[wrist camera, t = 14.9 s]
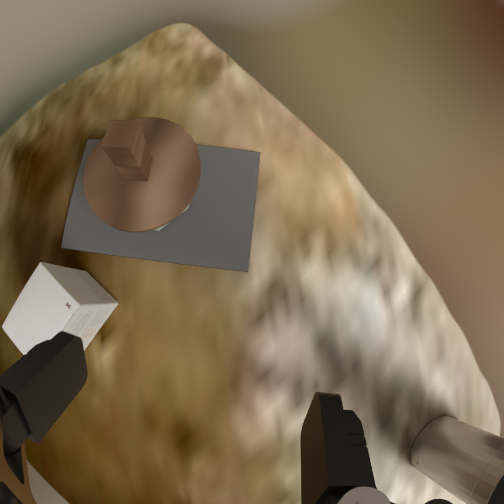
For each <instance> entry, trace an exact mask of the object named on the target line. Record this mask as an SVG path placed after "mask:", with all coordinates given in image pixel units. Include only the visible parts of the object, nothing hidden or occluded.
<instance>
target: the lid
mask: <svg viewBox="0 0 504 504" xmlns="http://www.w3.org/2000/svg"><path fill="white" fill-rule="evenodd" d="M200 175H201V163H200V156H199V152H198V149H197V146H196V144H195V142H194V140H193V139H192V137H191V136H190V135H189V134H188V133H187V132H186V131H185V130H184V129H183V128H182V127H180V126H179V125H177V124H175V123H174V122H171V121H169V120H166V119H161V118H154V117H145V118H138V119H134V120H130V121H128V120H110V121H109V124H108V127H107V130H106V133H105V136H104V137H103V138H102V139H101V140H100V141H99V142H98V143H97V144H96V146H95V147H94V149H93V150H92V152H91V153H90V155H89V157H88V160H87V163H86V165H85V169H84V175H83V189H84V194H85V197H86V200H87V203H88V205H89V207H90V208H91V210H92V211H93V212H94V214H95V215H96V216H97V217H98V218H100V219H101V220H102V221H104V222H105V223H106V224H108V225H109V226H111V227H113V228H115V229H118V230H121V231H126V232H146V231H150V230H154V229H157V228H160V227H162V226H164V225H166V224H168V223H169V222H171V221H172V220H174V219H175V218H176V217H177V216H179V215H180V214H181V213H182V212H183V211H184V210H185V209H186V208H187V206H188V205H189V203H190V202H191V201H192V199H193V197H194V195H195V193H196V191H197V188H198V185H199V181H200Z"/></svg>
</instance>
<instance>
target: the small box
mask: <svg viewBox="0 0 504 504" xmlns="http://www.w3.org/2000/svg"><path fill="white" fill-rule="evenodd" d="M118 304H119V303H118V301H116V300H115V299H114V298H113V297H112V296H111V295H110V294H109V293H108V292H107V291H106V290H105V289H104V288H103V287H102V286H101V285H100V284H99V283H98V282H97V281H96V280H95V279H94V278H93V277H92V276H91V275H90V274H89V273H88V272H87V271H83V270H78V269H73V268H68V267H63V266H58V265H54V264H49V263H44V262H40V263H39V264H38V266H37V267H36V269H35V271H34V272H33V274H32V275H31V277H30V278H29V280H28V282H27V283H26V285H25V287H24V288H23V290H22V292H21V293H20V295H19V297H18V298H17V300H16V302H15V304H14V305H13V307H12V309H11V311H10V312H9V314H8V316H7V318H6V320H5V322H4V323H3V325H2V328H3V329H4V331H5V332H6V333H7V335H8V336H9V337H10V339H11V340H12V341H13V342H14V344H15V345H16V346H17V348H18V349H19V350H20V351H21V352H22V354H23V355H25V354H27V352H28V351H29V350H30V349H32V348H33V347H34V346H35V345H36V344H39V343H41V342H43V341H46V340H50V339H52V338H53V337H54V336H55V335H56V334H57V333H59V332H60V331H65V332H67V333H70V334H73V335H75V336H78V337H80V338H81V339H82V342H83V348H84V350H85V349H86V348H87V346H88V345H89V343H90V342H91V340H92V339H93V338H94V336H95V335H96V333H97V332H98V331H99V329H100V328H101V327H102V325H103V324H104V322H105V321H106V320H107V318H108V317H109V316H110V314H111V313H112V312H113V310H114V309H115V308H116V306H117V305H118Z"/></svg>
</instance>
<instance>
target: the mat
mask: <svg viewBox="0 0 504 504" xmlns="http://www.w3.org/2000/svg"><path fill="white" fill-rule="evenodd" d="M100 140H101V139H88V141H87V144H86V147H85V150H84V153H83V157H82V160H81V163H80V167H79V170H78V174H77V177H76V181H75V185H74V189H73V193H72V197H71V201H70V205H69V210H68V214H67V219H66V224H65V229H64V234H63V240H62V245H61V248H65V249H72V250H79V251H86V252H93V253H100V254H108V255H115V256H123V257H130V258H138V259H146V260H153V261H161V262H169V263H177V264H185V265H194V266H202V267H210V268H219V269H227V270H236V271H245V272H248V266H249V257H250V247H251V238H252V228H253V218H254V209H255V199H256V190H257V180H258V171H259V161H260V152H253V151H246V150H238V149H230V148H221V147H212V146H203V145H196V146H197V149H198V152H199V156H200V163H201V175H200V181H199V185H198V188H197V191H196V193H195V195H194V197H193V199H192V201H191V202H190V204H189V208H188V209H187V210H185V211H184V212H183V213H181V214H180V215H179V216H178V217H176V218H175V219H174V220H172V221H171V222H170V223H168V224H167V225H166V226H164V227H163V228H162V229H161V230H159V231H155V230H150V231H146V232H126V231H121V230H118V229H115V228H113V227H111V226H109V225H108V224H106V223H105V222H104V221H102V220H101V219H100V218H98V217H97V216H96V215H95V214H94V212H93V211H92V210H91V208H90V207H89V205H88V203H87V200H86V197H85V194H84V189H83V175H84V169H85V165H86V163H87V160H88V157H89V155H90V153H91V152H92V150H93V149H94V147H95V146H96V144H97V143H98V142H99V141H100Z"/></svg>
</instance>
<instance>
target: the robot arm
mask: <svg viewBox="0 0 504 504" xmlns="http://www.w3.org/2000/svg"><path fill="white" fill-rule="evenodd" d="M86 380H87V366H86V360H85V354H84V348H83V342H82V339H81V338H80V337H78V336H75V335H73V334H70V333H67V332H65V331H60V332H59V333H57V334H56V335H55V336H54V337H53V338H52V339H50V340H46V341H43V342H41V343H39V344H36V345H35V346H34V347H33V348H32V349H30V350H29V351H28V352H27V354H25V355H23V356H22V357H21V358H20V360H18V361H17V362H16V363H14V364H13V365H12V366H11V367H10V368H9V369H8V370H7V371H5V372H4V373H3V374H2V375H1V376H0V504H36V502H35V500H34V498H33V496H32V493H31V489H30V484H29V477H28V468H27V458H26V448H25V444H24V441H25V440H26V439H27V438H29V439H31V440H32V441H34V442H36V443H37V444H39V443H40V441H41V440H42V439H43V437H44V436H45V435H46V433H47V432H48V431H49V430H50V428H51V427H52V426H53V424H54V423H55V422H56V420H57V419H58V418H59V417H60V415H61V414H62V413H63V411H64V410H65V409H66V408H67V406H68V405H69V404H70V403H71V401H72V400H73V399H74V398H75V396H76V395H77V394H78V393H79V391H80V390H81V389H82V388H83V386H84V385H85V383H86ZM366 445H367V444H366V439H365V437H364V431H363V427H362V423H361V421H360V419H359V418H358V417H357V416H356V414H355V413H354V412H353V410H343V405H342V400H341V396H340V395H339V394H333V393H323V392H316V393H315V395H314V397H313V400H312V402H311V405H310V408H309V410H308V413H307V415H306V418H305V420H304V423H303V426H302V431H301V504H395V503H392V502H390V501H389V499H388V498H387V496H386V495H385V494H384V493H382V492H381V491H379V490H377V488H376V485H375V481H374V476H373V471H372V466H371V462H370V457H369V453H368V448H367V447H366ZM410 460H411V463H412V465H413V466H414V467H415V468H416V469H418V470H419V471H420V472H422V473H423V474H424V475H426V476H427V477H428V478H430V479H431V480H433V481H434V482H435V483H437V484H438V485H440V486H441V487H443V488H444V489H446V490H447V491H448V492H450V493H451V494H453V495H454V496H456V497H457V498H459V499H460V500H462V501H463V502H465V503H466V504H504V438H502V437H499V436H497V435H494V434H492V433H489V432H487V431H484V430H481V429H479V428H476V427H474V426H471V425H469V424H466V423H464V422H461V421H459V420H456V419H454V418H451V417H449V416H442V417H439V418H436V419H434V420H433V421H432V422H430V423H429V424H428V425H427V426H426V427H425V428H424V429H423V430H422V431H421V432H420V434H419V435H418V437H417V438H416V440H415V442H414V444H413V447H412V449H411V454H410ZM425 504H452V503H451V502H449V501H447V500H444V499H434V500H430V501H428V502H427V503H425Z"/></svg>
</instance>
